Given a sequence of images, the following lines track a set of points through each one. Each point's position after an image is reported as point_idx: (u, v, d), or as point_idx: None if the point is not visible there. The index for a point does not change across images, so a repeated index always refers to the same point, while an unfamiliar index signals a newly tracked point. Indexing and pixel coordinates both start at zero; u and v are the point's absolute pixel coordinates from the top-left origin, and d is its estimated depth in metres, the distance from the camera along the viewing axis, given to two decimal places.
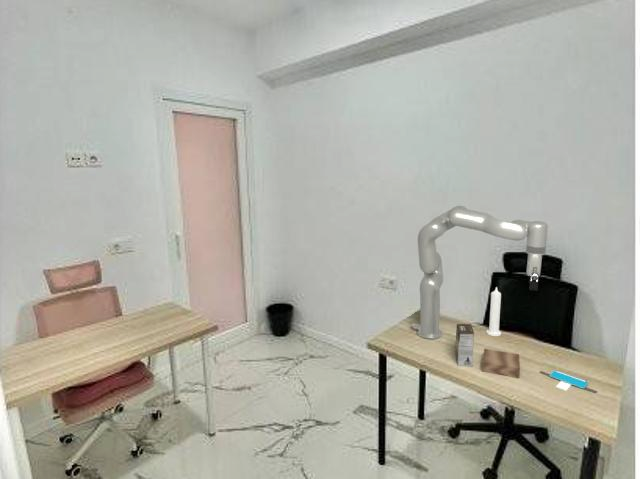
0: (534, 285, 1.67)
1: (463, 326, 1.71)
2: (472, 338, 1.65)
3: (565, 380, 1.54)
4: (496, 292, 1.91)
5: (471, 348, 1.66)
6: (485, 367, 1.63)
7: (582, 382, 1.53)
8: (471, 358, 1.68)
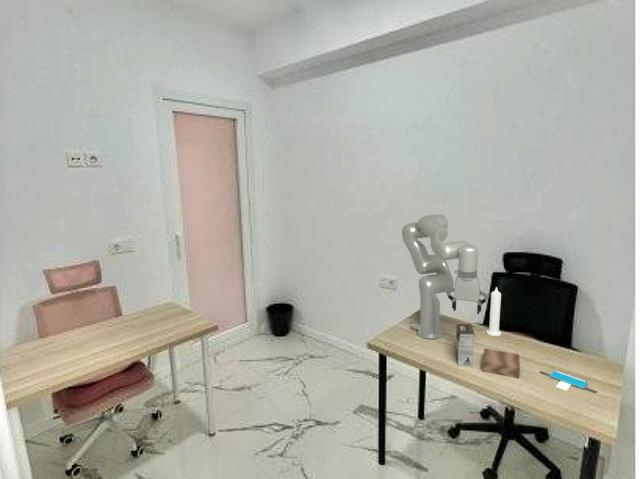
0: None
1: (463, 326, 1.71)
2: (472, 338, 1.65)
3: (565, 380, 1.54)
4: (496, 292, 1.91)
5: (471, 348, 1.66)
6: (485, 367, 1.63)
7: (582, 382, 1.53)
8: (471, 358, 1.68)
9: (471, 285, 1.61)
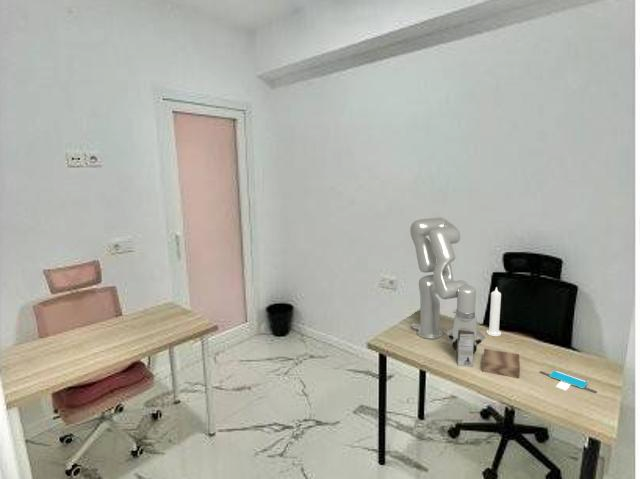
0: (476, 347, 1.69)
1: None
2: (472, 338, 1.65)
3: (565, 380, 1.54)
4: (496, 292, 1.91)
5: (471, 348, 1.66)
6: (485, 367, 1.63)
7: (582, 382, 1.53)
8: (471, 358, 1.67)
9: (469, 325, 1.66)
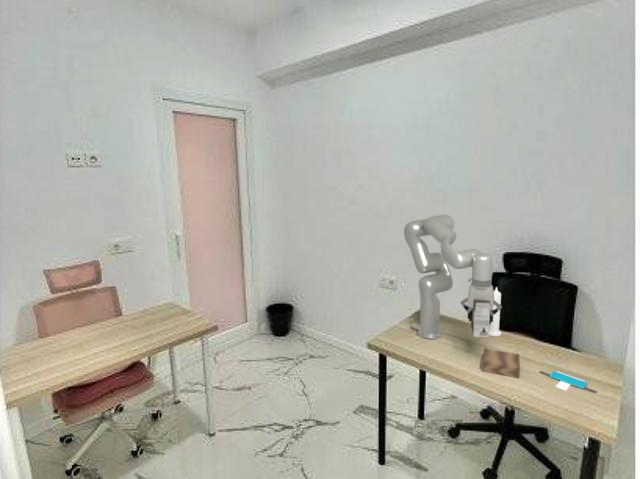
0: (492, 317, 1.63)
1: None
2: (488, 307, 1.59)
3: (565, 380, 1.54)
4: (496, 292, 1.91)
5: (487, 318, 1.60)
6: (485, 367, 1.63)
7: (582, 382, 1.53)
8: (487, 328, 1.61)
9: (485, 294, 1.60)
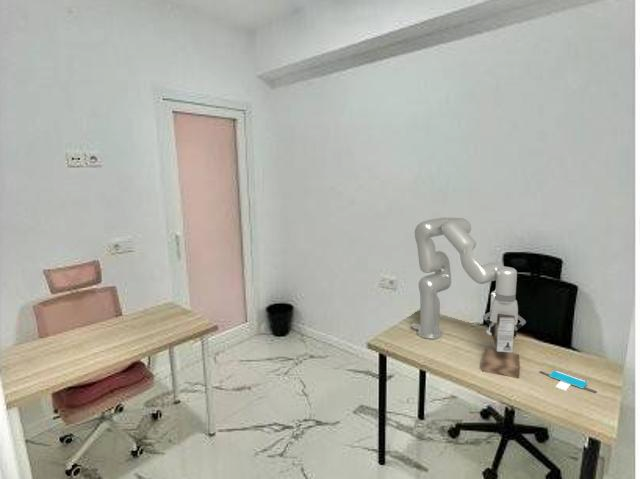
0: None
1: None
2: (513, 322, 1.56)
3: (565, 380, 1.54)
4: None
5: (511, 333, 1.58)
6: (485, 367, 1.63)
7: (582, 382, 1.53)
8: (511, 343, 1.59)
9: (509, 309, 1.57)
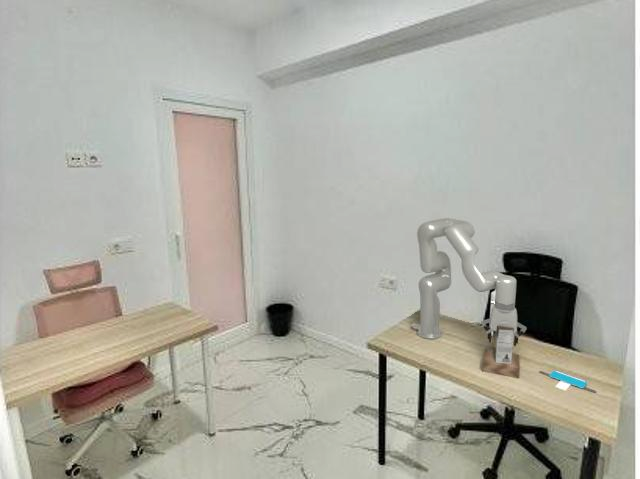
0: (517, 339, 1.61)
1: None
2: (512, 334, 1.58)
3: (564, 380, 1.54)
4: None
5: (510, 345, 1.59)
6: (485, 367, 1.63)
7: (581, 382, 1.53)
8: (510, 355, 1.60)
9: (509, 317, 1.58)
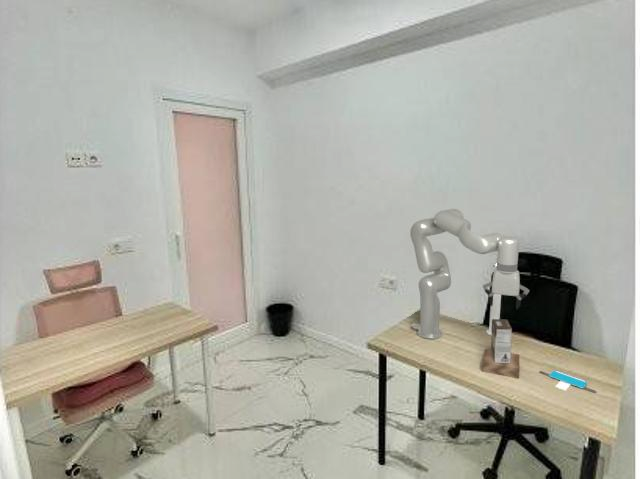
0: None
1: (499, 321, 1.64)
2: (510, 334, 1.58)
3: (564, 380, 1.54)
4: None
5: (509, 344, 1.59)
6: (485, 367, 1.63)
7: (581, 382, 1.53)
8: (509, 355, 1.60)
9: (511, 279, 1.54)
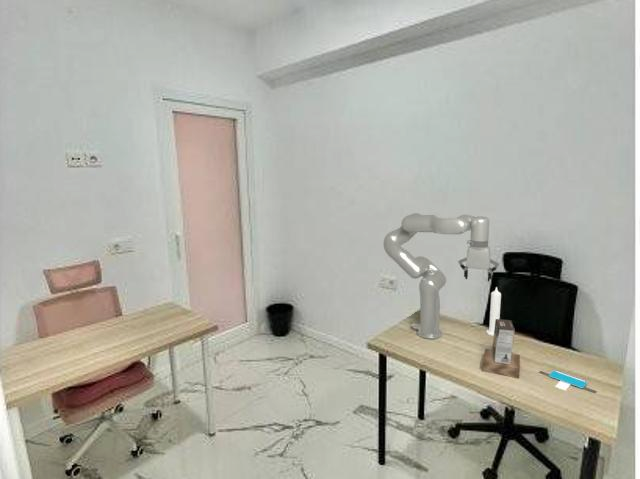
0: (491, 275, 1.76)
1: (502, 321, 1.63)
2: (512, 335, 1.57)
3: (564, 380, 1.54)
4: (496, 292, 1.91)
5: (510, 345, 1.59)
6: (485, 367, 1.64)
7: (581, 382, 1.53)
8: (509, 355, 1.60)
9: (482, 254, 1.73)
